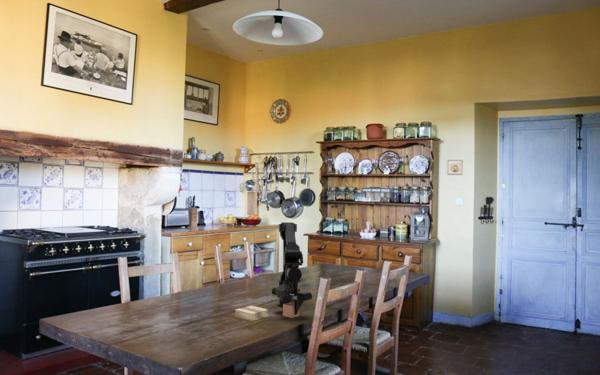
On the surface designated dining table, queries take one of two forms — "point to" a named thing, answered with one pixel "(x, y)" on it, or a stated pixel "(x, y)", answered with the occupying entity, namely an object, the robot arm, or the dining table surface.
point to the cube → (289, 310)
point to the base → (251, 313)
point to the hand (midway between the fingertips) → (291, 313)
